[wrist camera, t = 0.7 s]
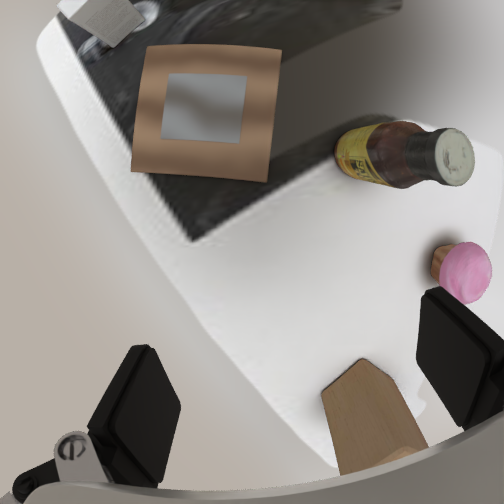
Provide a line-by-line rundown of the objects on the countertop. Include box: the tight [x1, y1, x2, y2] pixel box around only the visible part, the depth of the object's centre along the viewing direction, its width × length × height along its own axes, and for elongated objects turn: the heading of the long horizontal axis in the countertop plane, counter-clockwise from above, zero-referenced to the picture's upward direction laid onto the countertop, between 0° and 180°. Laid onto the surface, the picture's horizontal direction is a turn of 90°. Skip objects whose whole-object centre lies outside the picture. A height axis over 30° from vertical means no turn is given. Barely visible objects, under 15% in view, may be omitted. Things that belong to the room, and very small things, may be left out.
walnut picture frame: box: [131, 44, 282, 182], centre depth 31 cm, size 16×16×3 cm
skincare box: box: [57, 0, 145, 48], centre depth 23 cm, size 6×4×12 cm
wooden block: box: [321, 359, 429, 476], centre depth 36 cm, size 10×10×20 cm
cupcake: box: [431, 242, 492, 304], centre depth 33 cm, size 9×9×10 cm
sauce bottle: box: [334, 121, 475, 189], centre depth 25 cm, size 7×6×20 cm
